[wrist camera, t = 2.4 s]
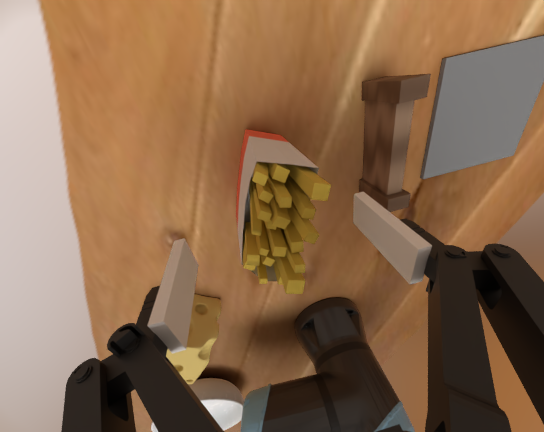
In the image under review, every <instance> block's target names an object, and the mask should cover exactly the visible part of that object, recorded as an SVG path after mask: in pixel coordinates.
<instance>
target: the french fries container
mask: <svg viewBox="0 0 544 432" xmlns="http://www.w3.org/2000/svg"><path fill="white" fill-rule="evenodd" d="M318 169H319V168H318V167H317V166H316V165H315V164H314V163H312V162H311V161H310V160H309V159H308V158H307V157H305V156H304V155H303V154H302V153H301V152H300V151H298V150H297V149H296V148H295V147H294V146H293V145H292V144H290V143H289V142H288V141H287V140H286V139H285V138H283V137H282V136H281V135H277V134H271V133H265V132H259V131H253V130H247V129H246V131H245V135H244V140H243V145H242V150H241V159H240V168H239V177H238V186H237V205H236V217H237V229H238V237H239V246H240V254H241V263H242V265H243V268H245V269H249V270H250V271H252V272H253V273H254V274H256V275H257V276H258V277H259V283H260V284H267V281H277V282H278V284H282V285H283V286H284V289H285V292H286V294H302V293H303V289H304V284H305V279H304V277H303V275H302V273H305V263H304V261H303V259H302V257H301V255H300V254H299V252H304V249H303V240H304V241H306V242H309V243H312V244H315V242H316V240H317V238H318V237H319V234H318V232H317V231H316V229H315V228H314V226H313V225H312V224H311V222H310V221H309V219H311V220H313V218H314V215H315V212H316V209H315V207H314V206H313V204H312V203H311V201H310V199H313V200H322V201H327V200H328V195H329V191H330V187H331V184H329V183H328V182H327V181H325V180H324V179H323V178H321V177H320V176H318V175H317V173H318ZM302 238H303V240H302Z"/></svg>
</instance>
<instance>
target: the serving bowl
mask: <svg viewBox="0 0 544 432" xmlns="http://www.w3.org/2000/svg"><path fill="white" fill-rule="evenodd" d="M188 385H189V386H190V388H191V389H192V390H193V392H194V393H195V394H196V396H197V397H198V398H199V400H200V401H201V402H202V403H203V405H204V406H205V407H206V409H207V410H208V411H209V413H210V414H211V415H212V417H213V418H214V419H215V420H216V422H217V423H218V424H219V426H220V427H221V428H222V430H223V431H224V430H226V429H228V428H230V427H232V426H234V425H235V424H237V423H238V422H239V421H240V420H241V419H242V410H243V404H244V399H243V396H242V394H241V392H240V391H239V389H238V388H237V387H236V386H235V385H234V384H232V383H231V382H229V381H226V380H223V379H217V378H204V379H198V380H196V381H195V382H194V383H193V384H188ZM151 430H152V432H158V430H157V428H156V426H155V424H154V423H153V421H152V424H151Z"/></svg>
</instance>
